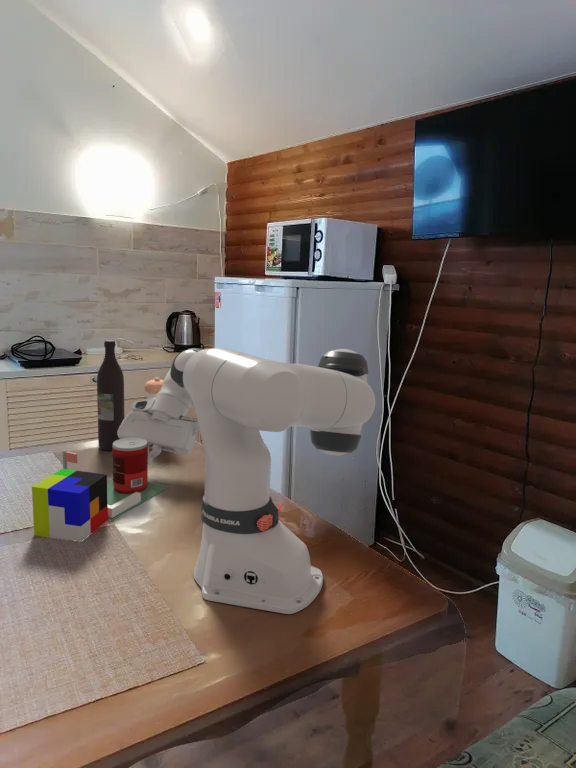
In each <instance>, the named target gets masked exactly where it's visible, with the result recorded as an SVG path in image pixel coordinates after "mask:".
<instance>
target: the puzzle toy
mask: <svg viewBox="0 0 576 768" xmlns="http://www.w3.org/2000/svg"><path fill="white" fill-rule="evenodd" d="M107 482H108V474H105V473H100V472H99V473H97V472H91V471H83V470H75V469H68V468H67V469H63V468H61V469H60V470H59V469H58V471H56V472H55V473H52V474H51V475H48V476H47V477H46V478H44V479H42V480H40V481H39V482H38V483H35V484H33V485H32V486H31V495H32V496H31V497H32V514H33V515H32V519H33V535H34V536H38V537H45V538H49V539H50V538H51V539H58V540H63V539H66V540H65V541H69V540H76V541H82V540H83V539H85V538H86V537H87V536H88V535H90V534H91V533H92V534H93V533H95V532H96V531H97V530H98V529H99V528H100V527H102V526H103V525H104V524H105V523H106V522H107V521H109V520H108V505H107ZM95 530H96V531H95ZM92 534H91V535H92ZM88 537H89V536H88ZM88 537H87V538H88ZM87 538H86V539H87ZM86 539H85V540H86ZM76 541H75V542H76Z"/></svg>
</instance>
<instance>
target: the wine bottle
mask: <svg viewBox="0 0 576 768" xmlns="http://www.w3.org/2000/svg"><path fill="white" fill-rule="evenodd" d="M103 346H104V358H103V360H102V363H101V365H100V367H99V369H98V371H97V376H96V402H97V403H96V405H97V437H98V439H97V441H98V445H97V446H98V449H99V450H101V451H107V452H112V446H113V442H115V441H116V440H119V439H120V438H119V437H118V434H117V431H118V429H119V427H120V425H121V423H122V421H123V420H124V418H125V379H124V378H125V377H124V373H123V369H122V367H121V365H120V364H119V362H118V360H117V358H116V348H115V347H116V341H115V340H113V339H107V340H104V343H103Z"/></svg>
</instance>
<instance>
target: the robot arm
mask: <svg viewBox="0 0 576 768" xmlns="http://www.w3.org/2000/svg"><path fill="white" fill-rule="evenodd" d="M368 375H369V366H368V361H367V359H366V358H365V357H364V355H363V354H360V353H359V352H356V351H355V350H351V349H348V348H337V349H334V350H329V351H326V352H325V353H324V354H323V355H321V357H320V360H319V363H318V366H314V365H309V364H304V363H299V362H297V363H290V362H289V363H288V362H283V361H275V360H272V359H266V358H262V357H260V356H255V355H251V354H248V353H244V352H240V351H237V350H233V349H230V348H225V347H212V348H205V349H204V348H203V349H202V348H198V347H197V348H196V347H194V348H193V347H192V348H187V349H184V350H182V351H180V352H179V353H178V354H177V355H176V356H175V357H174V359H173V360H172V363H171V367H170V368H169V370H168V371H167V373H166V375H165V377H164V378H163V380H164V381H163V383H162V388H161V390H160V391H159V392H158V393H157V395H156V397H155V398H152V399H148V400H147V399H144V400H137V401H134V402H133V403H132V404H131V409H132V410H130V411H129V412H128V413H127V414H126V415H124V417H125V418H124V420H123V421H122V423H121V425H120V427H119V429H118V431H117V434H118V437H119V438H120V439H123V438H141V439H144V440H146V441H147V444H148V450H149V448H150V449H152V450H151V451H150V452H149V453H148V465H151V463H152V461H153V460H154V459H155V458H157V456H159V455H160V454H161V452H162V451H165V452H171V453H176V454H181V455H188V454H190V453H191V452H192V450H193V447H194V444H195V441H196V437H197V434H198V433H199V432H200V433H199V434H200V438H201V443H202V449H203V456H204V457H203V458H204V494H203V495H202V499H201V510H200V512H201V514H200V517H201V518H200V519H201V524H202V533H201V540H200V541H201V542H200V547H199V551H198V556H197V560H196V563H195V566H194V569H193V577H194V580H195V582H196V583H197V584H198V586H199V587H200V588H201V597H202V598H203V599H204V600H206V601H211V602H216V603H222V604H227V605H231V606H232V605H233V606H238V607H244V608H251V609H256V610H262V611H268V612H274V613H278V614H279V613H280V614H284V615H293V614H295V613H298V612H300V611H301V610H303V609H305V608H307V607H308V606H309V605H311V604H312V602H313V601H314V600H315V599H316V598H317V597H318V594H320V592H321V590H322V587H323V585H324V584H323V583H324V579H323V578H324V577H323V572H322V571H321V569H319V568H318V567H315V566H313V565H312V564H311V557H310V553H309V549H308V546H307V545H306V543H304V542H303V541H302V540H301V539H300V538H299V537H298V536H297V535H295V534H294V533H293V532H292V530H290V529H289V528H288V527H287V526H286V525H285V524H284V523H283V522H282V521H281V520H279V515H280V513H281V512H282V511H283V505H284V503H282V502H281V503H280V504H279V505H277V506H276V504H274V502H273V499H272V496H271V494H270V493H271V492H270V491H271V475H272V473H271V472H272V470H271V468H272V458H271V457H272V456H271V452H270V450H269V448H268V446H267V444H266V443H265V441H264V439H263V438H262V437H263V436H262V435H261V432H260V431H262V432H271V433H272V432H273V433H280V432H284V431H286V430H288V429H289V428H292V427H299V428H300V427H302V428H310V429H309V433H310V434H309V435H310V441H311V443H312V446H314V448H315V449H317V450H319V451H320V452H323V453H325V454H326V455H330V456H331V455H332V456H342V455H346V454H348V453H349V454H350V453H353V452H354V451H356V450H357V449H358V447H359V444H360V442H361V441H360V440H361V437H362V435H361V430H362V428H363V424H365V423H367V422H368V421H369V420H370V418H371V417H372V416H373V413H374V411H375V409H376V408H375V407H376V395H375V392H374V390H373V389H372V387H371V385H370V384H368ZM190 408H194V413H195V417H189V416H186V415H187V414H188V412H189V409H190Z"/></svg>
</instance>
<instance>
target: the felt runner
mask: <svg viewBox="0 0 576 768" xmlns="http://www.w3.org/2000/svg"><path fill="white" fill-rule="evenodd" d="M166 488H167V489H169V486H168V485H163V484H159V483H154V482H151V481H148V484H147V487H146V489H145V490H143V491H141V492H139V493H141V502H139V503H137V504H136V505H134V506H132V507H130V508H129V509H127V510H125V511H123V512H122V513H120V514H118V515H116V516H115V517H113V518H111V517H108V520H107V521H114V520H115V519H117V518H119V517H120V516H122V515H124V514H125V513H127V512H129V511H131V510H133V509H134V508H136V507H138V506H140V505H141V504H143V503H145V502H146V501H148V500H150V499H152V498H153V497H155V496H156V495H159V494H161V493H162V492H164V491H165V490H167V489H166ZM163 490H164V491H163ZM130 495H132V494H122V493H118V492H116V491H115V490H114V487H113V478H112V479H110V480H107V504H108V505H113V504H115V503H117V502H119V501H121V500H122V499H124V498H126V497H128V496H130Z"/></svg>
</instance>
